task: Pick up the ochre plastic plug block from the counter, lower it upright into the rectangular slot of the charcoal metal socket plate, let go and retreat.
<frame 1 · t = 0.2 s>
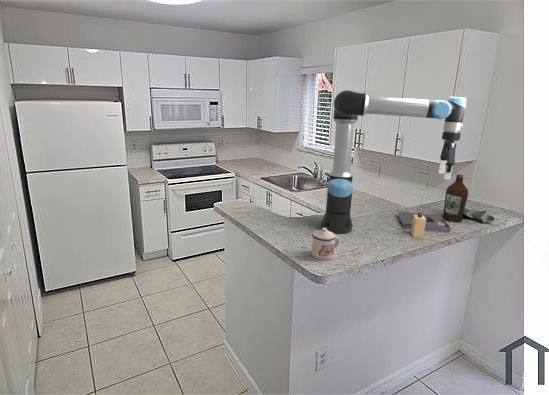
hand: (444, 176, 170), 27 cm above the countertop, fingers open, 13 cm apart
plug: (416, 234, 168), on the countertop
teacup with lid: (325, 255, 142), on the countertop
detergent: (469, 219, 197), on the countertop
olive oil: (451, 220, 193), on the countertop
socket plate: (421, 223, 184), on the countertop
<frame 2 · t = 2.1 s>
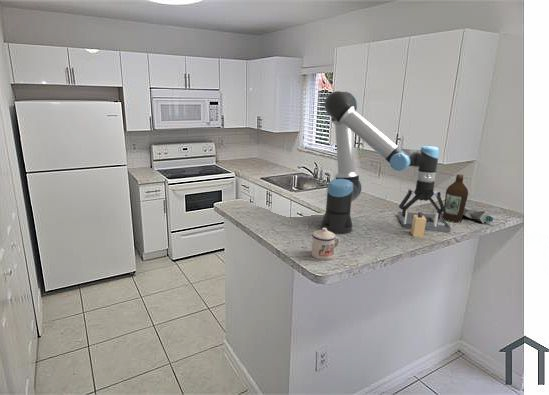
hand: (419, 224, 167), 5 cm above the countertop, fingers open, 13 cm apart
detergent: (468, 219, 196), on the countertop
everything else where it was.
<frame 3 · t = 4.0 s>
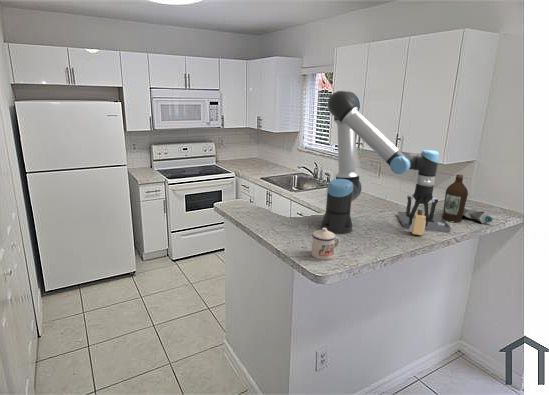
hand: (416, 231, 168), 2 cm above the countertop, fingers closed on plug, 4 cm apart
plug: (416, 232, 168), point 1 cm above the countertop, touching gripper
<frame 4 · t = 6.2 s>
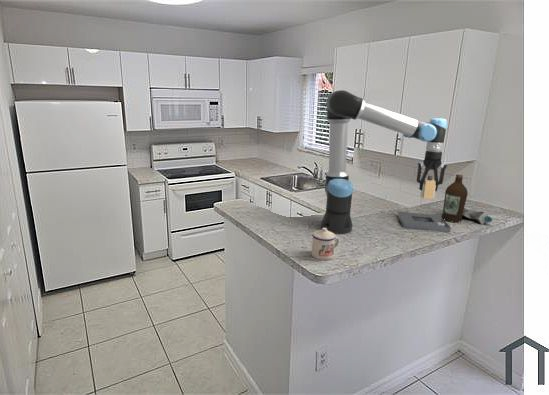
hand: (427, 196, 179), 15 cm above the countertop, fingers closed on plug, 4 cm apart
plug: (426, 197, 179), point 15 cm above the countertop, touching gripper
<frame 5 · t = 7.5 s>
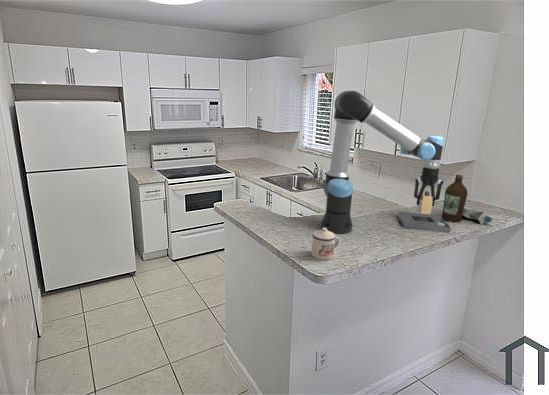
hand: (424, 211, 183), 7 cm above the countertop, fingers closed on plug, 4 cm apart
plug: (423, 212, 183), point 6 cm above the countertop, touching gripper
everything else where it was.
when the fingers open (2 cm above the countertop, at t = 8.6 s): plug drops 2 cm, resting in socket plate.
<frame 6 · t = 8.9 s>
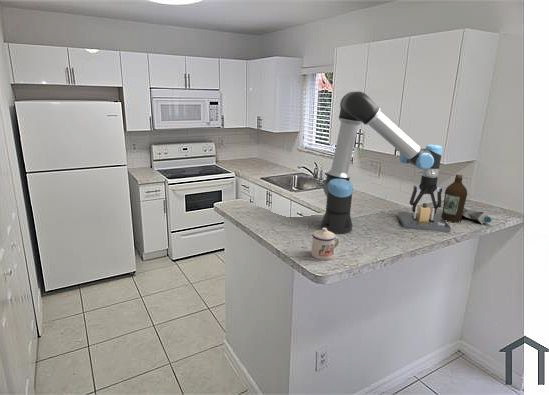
hand: (422, 218, 184), 3 cm above the countertop, fingers open, 8 cm apart
plug: (421, 223, 184), resting in socket plate
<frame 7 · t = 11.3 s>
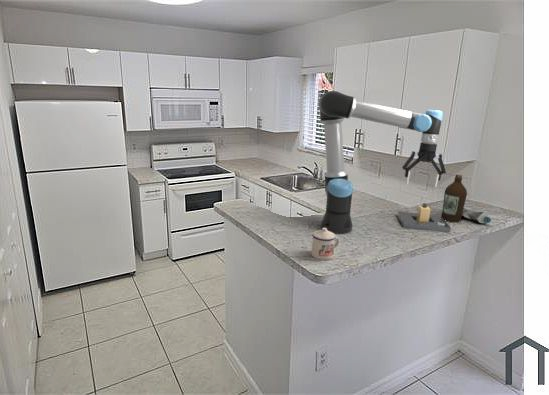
hand: (420, 185, 177), 21 cm above the countertop, fingers open, 13 cm apart
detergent: (467, 219, 195), on the countertop, touching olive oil
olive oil: (450, 220, 192), on the countertop, touching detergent
everything else where it was.
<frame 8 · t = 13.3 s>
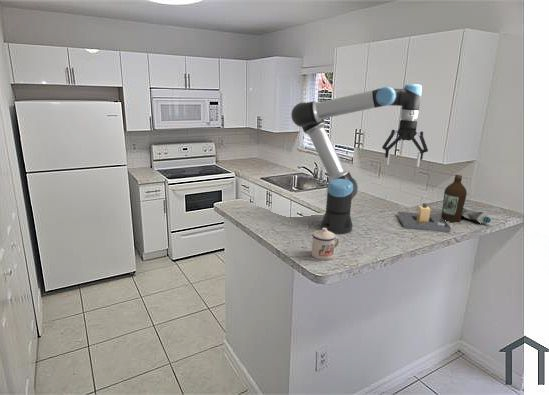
hand: (402, 165, 167), 32 cm above the countertop, fingers open, 13 cm apart
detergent: (467, 220, 195), on the countertop
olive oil: (450, 220, 192), on the countertop
everything else where it was.
at the end: plug 0.0 cm off-centre on the socket plate, point 0.0 cm above the socket plate's base; plug tilted 0°; the gripper is holding nothing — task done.
